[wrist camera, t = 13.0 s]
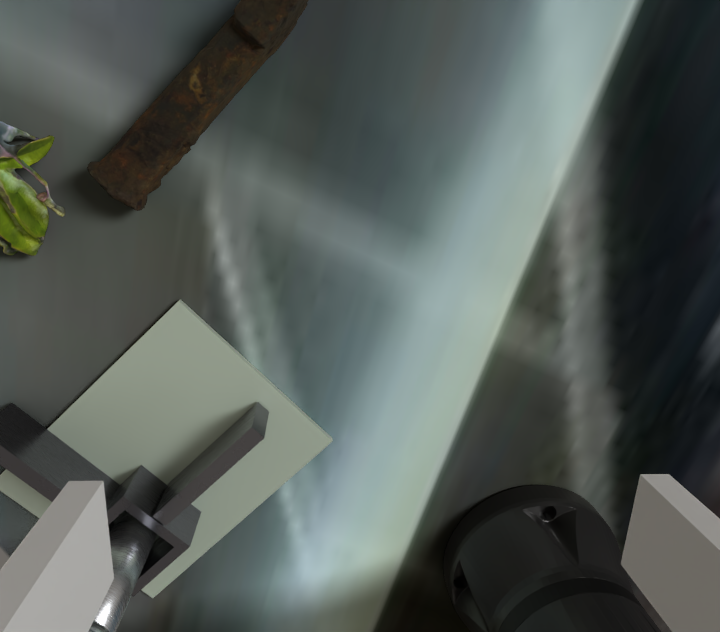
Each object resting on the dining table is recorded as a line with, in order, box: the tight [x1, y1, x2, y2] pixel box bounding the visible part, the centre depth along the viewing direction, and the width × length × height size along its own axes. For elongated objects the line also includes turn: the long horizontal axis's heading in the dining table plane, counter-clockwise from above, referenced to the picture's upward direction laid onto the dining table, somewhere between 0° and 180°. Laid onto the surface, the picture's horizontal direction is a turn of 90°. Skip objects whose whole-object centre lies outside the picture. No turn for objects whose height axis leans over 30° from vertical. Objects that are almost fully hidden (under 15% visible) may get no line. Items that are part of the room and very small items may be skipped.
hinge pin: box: [88, 510, 157, 632], centre depth 36 cm, size 4×4×13 cm
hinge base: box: [0, 403, 201, 597], centre depth 39 cm, size 16×6×4 cm, turn 43°
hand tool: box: [87, 0, 308, 211], centre depth 32 cm, size 19×4×5 cm, turn 132°
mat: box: [0, 299, 332, 598], centre depth 41 cm, size 16×21×1 cm
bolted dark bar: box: [153, 402, 269, 526], centre depth 39 cm, size 1×10×4 cm, turn 132°
